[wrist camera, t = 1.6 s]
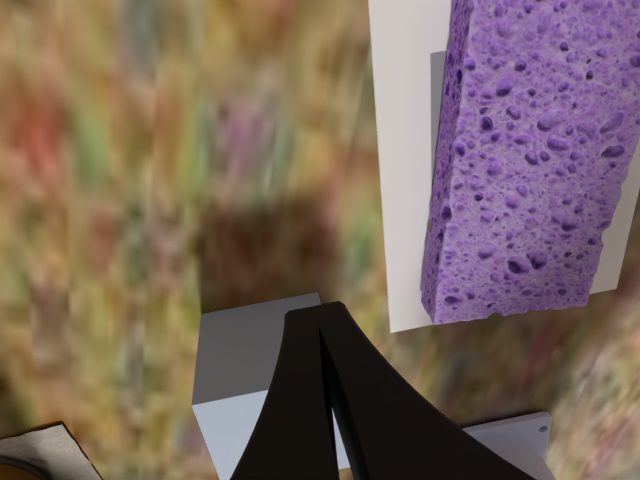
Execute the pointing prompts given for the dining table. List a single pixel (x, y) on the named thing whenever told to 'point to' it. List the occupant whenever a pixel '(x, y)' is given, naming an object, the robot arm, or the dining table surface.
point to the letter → (435, 150)
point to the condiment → (44, 457)
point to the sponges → (530, 153)
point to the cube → (240, 375)
